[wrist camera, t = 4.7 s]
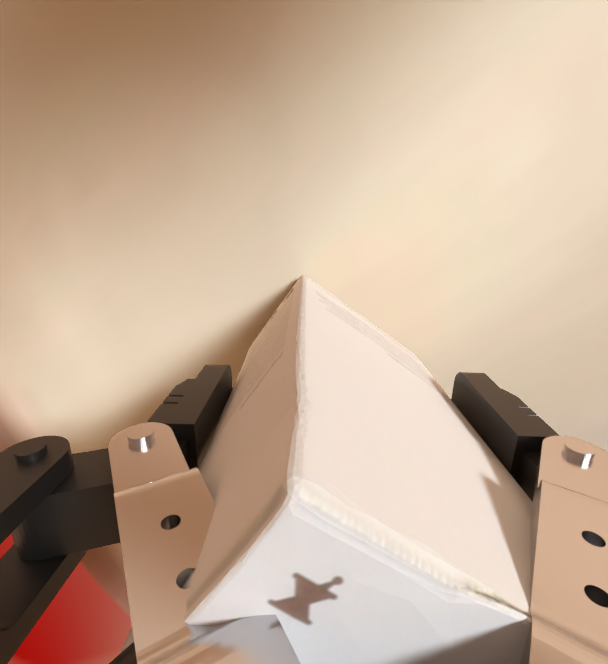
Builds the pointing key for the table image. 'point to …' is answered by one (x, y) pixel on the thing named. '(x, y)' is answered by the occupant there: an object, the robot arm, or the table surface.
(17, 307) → the table surface
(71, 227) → the table surface
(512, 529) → the skincare box
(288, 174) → the table surface
